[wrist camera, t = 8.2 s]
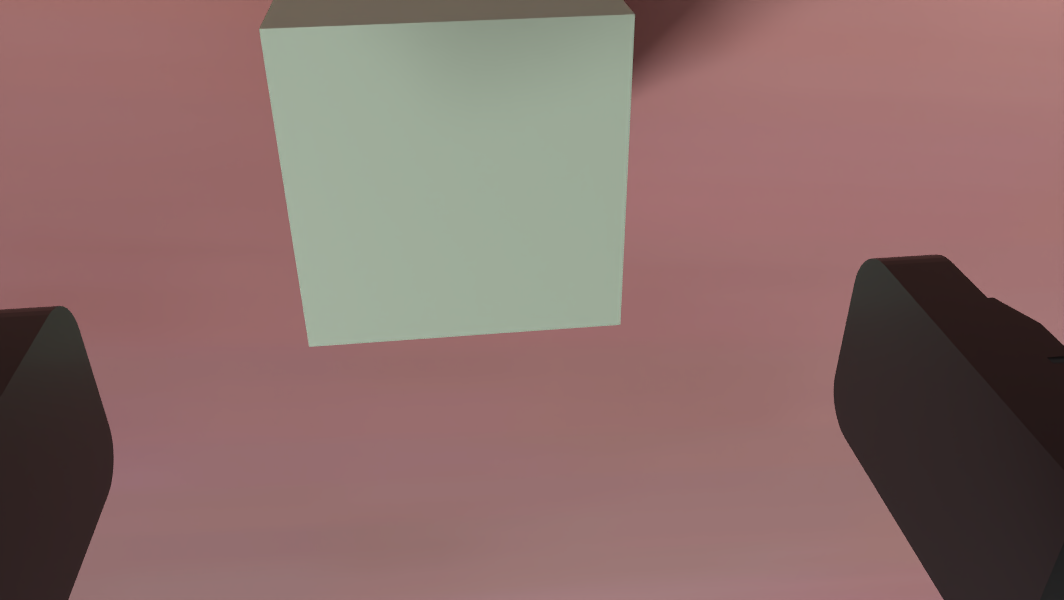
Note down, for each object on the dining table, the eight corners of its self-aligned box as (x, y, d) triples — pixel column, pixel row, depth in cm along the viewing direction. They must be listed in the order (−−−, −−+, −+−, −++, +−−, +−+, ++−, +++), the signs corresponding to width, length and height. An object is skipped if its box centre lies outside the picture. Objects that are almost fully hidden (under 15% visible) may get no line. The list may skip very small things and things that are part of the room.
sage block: (296, -47, 17) (259, 29, 12) (576, -56, 17) (635, 14, 13) (330, 210, 19) (308, 346, 15) (573, 196, 20) (620, 324, 15)
